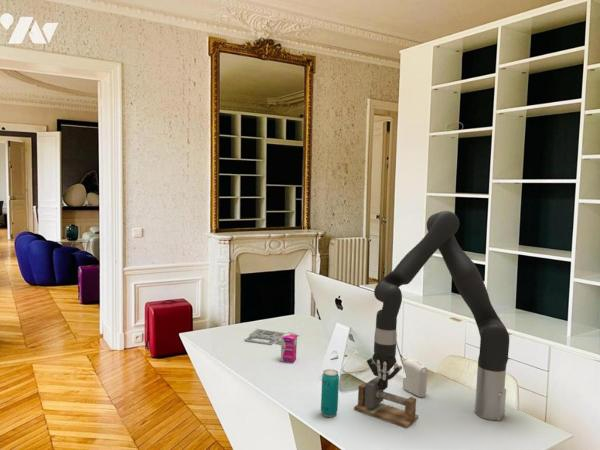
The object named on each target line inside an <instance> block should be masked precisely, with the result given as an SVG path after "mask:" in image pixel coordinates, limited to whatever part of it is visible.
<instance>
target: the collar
mask: <svg viewBox="0 0 600 450" xmlns="http://www.w3.org/2000/svg"><path fill="white" fill-rule="evenodd" d="M365 383H366V387H365V406H366V407H369V408H374V407H375V406H376V405H378V404H379V403H383V402H384V399H382V398H378V397H376V390H377V389H379V390H381V389H380V387H379V378H378V377H377V376H376V377H374V378H372V379H371V380H369V381H367V382H365ZM381 391H384V392H385V390H381Z"/></svg>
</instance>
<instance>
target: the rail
mask: <svg viewBox="0 0 600 450" xmlns="http://www.w3.org/2000/svg"><path fill="white" fill-rule="evenodd" d="M366 383H367V382H363V383H361V384H360V385H358V393H357V394H358V395H357V396H358V397H357V404H356V405H355V406H353V409H354V411H357V412H358V413H362V414H365V415H368V416H370V417H373V418H376V419H379V420H381V421H383V422H384V421H385V422H388V423H391V424H393V425H396V426H399V427H402V428H405V429H408V428H409V427H410V426H411V425H412V424H413V423H414V422H416V421H417V420H418V419H419V414H416V412H417V411H416V410H417V398H416V397H413V396H409V397H408V398H406V397H403V396H400V395H396V394H393V393H390V392H387V391H385V390H384V391H381V390H379V389H377V390H376V397H378V398H382V399H383V400H386V401H388V402H389V401H390V402H391V403H396V404H398V405H402V406H405V407H404V408H405V409H404V410H403V409H401V408H397V407H395V406H391V405H389V404H386V403H383V402H381V403H379V404H378V405H376V406H375V407H374V408H369V407H366V406H365V387H366Z"/></svg>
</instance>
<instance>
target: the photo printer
mask: <svg viewBox="0 0 600 450" xmlns="http://www.w3.org/2000/svg"><path fill="white" fill-rule="evenodd" d="M404 369H405V373H406V378H403V377H402V379H403V380H402V388H403V390H405V391H407V392H409V393H411V394H413V395H415V396H416V397H419V398H424V397H426V395H427V383H428V368H427V366H425V365H424V364H423V363H421V362H420V361H419V360H415V359H412V358H411V359H406V360H405V361H404V362H403V370H404Z"/></svg>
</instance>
